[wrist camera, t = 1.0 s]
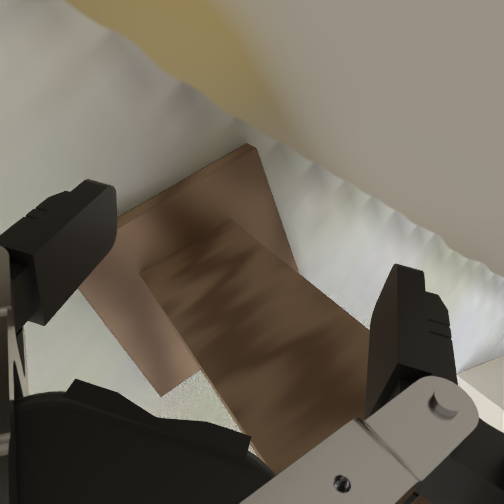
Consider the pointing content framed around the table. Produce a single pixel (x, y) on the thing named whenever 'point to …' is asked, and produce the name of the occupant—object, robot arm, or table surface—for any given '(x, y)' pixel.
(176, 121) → the table surface
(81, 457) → the robot arm
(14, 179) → the table surface
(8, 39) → the table surface
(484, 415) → the block
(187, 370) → the walnut stand
